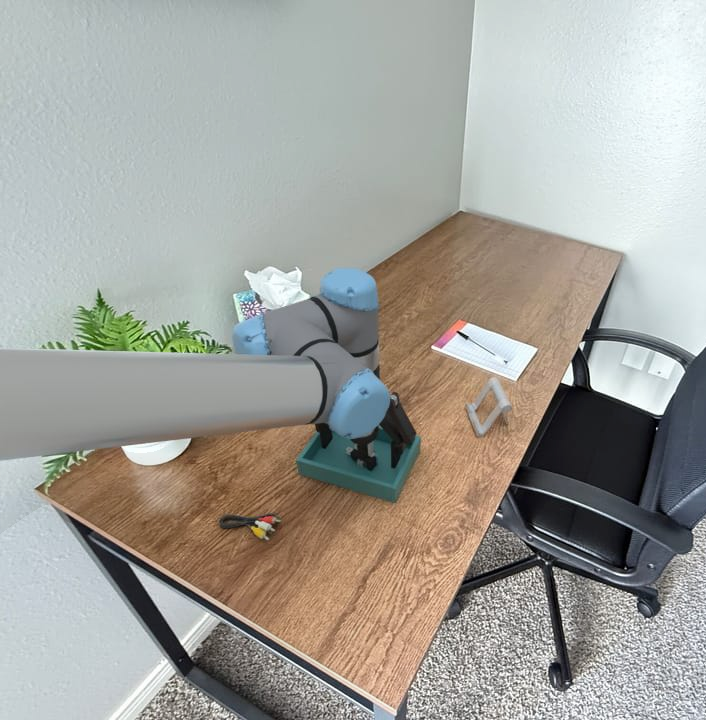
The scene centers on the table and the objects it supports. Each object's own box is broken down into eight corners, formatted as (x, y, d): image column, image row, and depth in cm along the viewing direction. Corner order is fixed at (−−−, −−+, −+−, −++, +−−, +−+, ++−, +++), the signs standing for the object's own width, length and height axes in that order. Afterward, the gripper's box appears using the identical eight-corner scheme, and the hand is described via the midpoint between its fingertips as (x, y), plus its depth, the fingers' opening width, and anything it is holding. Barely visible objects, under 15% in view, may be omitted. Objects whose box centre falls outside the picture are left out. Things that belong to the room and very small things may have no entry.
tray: (298, 474, 84) (295, 460, 81) (332, 426, 93) (331, 411, 91) (395, 503, 81) (395, 489, 79) (420, 450, 91) (420, 436, 88)
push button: (338, 462, 86) (334, 425, 80) (356, 443, 90) (353, 407, 84) (368, 477, 84) (365, 441, 78) (385, 458, 88) (384, 421, 82)
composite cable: (215, 528, 74) (211, 519, 73) (235, 503, 78) (232, 494, 76) (271, 546, 73) (268, 538, 71) (288, 520, 76) (286, 512, 75)
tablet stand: (464, 408, 101) (468, 380, 96) (497, 403, 104) (503, 375, 99) (475, 437, 95) (480, 409, 90) (511, 432, 98) (517, 403, 92)
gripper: (438, 369, 74) (432, 455, 87) (295, 333, 77) (310, 421, 90) (422, 399, 68) (418, 487, 81) (268, 359, 71) (288, 450, 84)
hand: (361, 453), depth 86 cm, fingers open, 13 cm apart
